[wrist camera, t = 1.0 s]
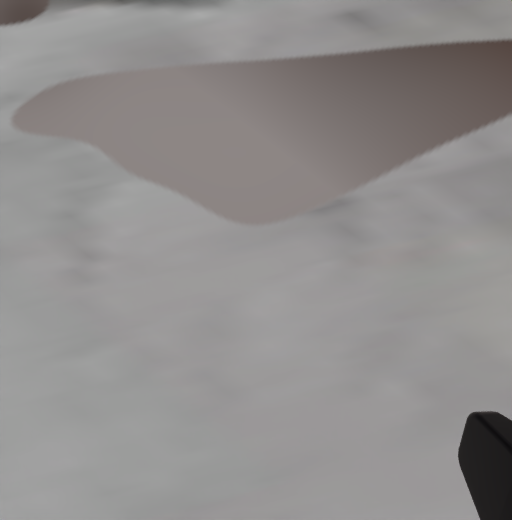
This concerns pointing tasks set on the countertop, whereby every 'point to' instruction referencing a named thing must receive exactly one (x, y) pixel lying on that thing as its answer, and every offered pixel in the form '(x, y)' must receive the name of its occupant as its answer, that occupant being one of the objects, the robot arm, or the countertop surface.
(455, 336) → the countertop surface
